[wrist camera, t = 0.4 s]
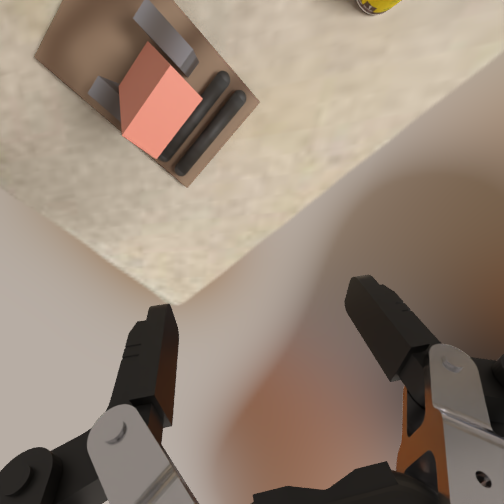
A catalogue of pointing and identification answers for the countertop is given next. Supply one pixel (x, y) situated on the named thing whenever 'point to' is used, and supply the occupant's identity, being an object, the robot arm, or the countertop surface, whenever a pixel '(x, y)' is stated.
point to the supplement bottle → (376, 5)
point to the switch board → (123, 56)
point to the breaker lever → (154, 102)
